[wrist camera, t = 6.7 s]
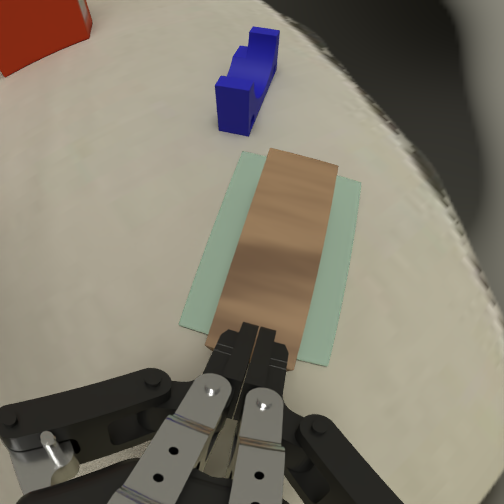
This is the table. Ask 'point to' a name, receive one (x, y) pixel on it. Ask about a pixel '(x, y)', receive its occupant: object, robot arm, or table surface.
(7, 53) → the file binder
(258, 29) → the blue cradle block
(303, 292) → the walnut block
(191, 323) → the sage mat
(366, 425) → the table surface
